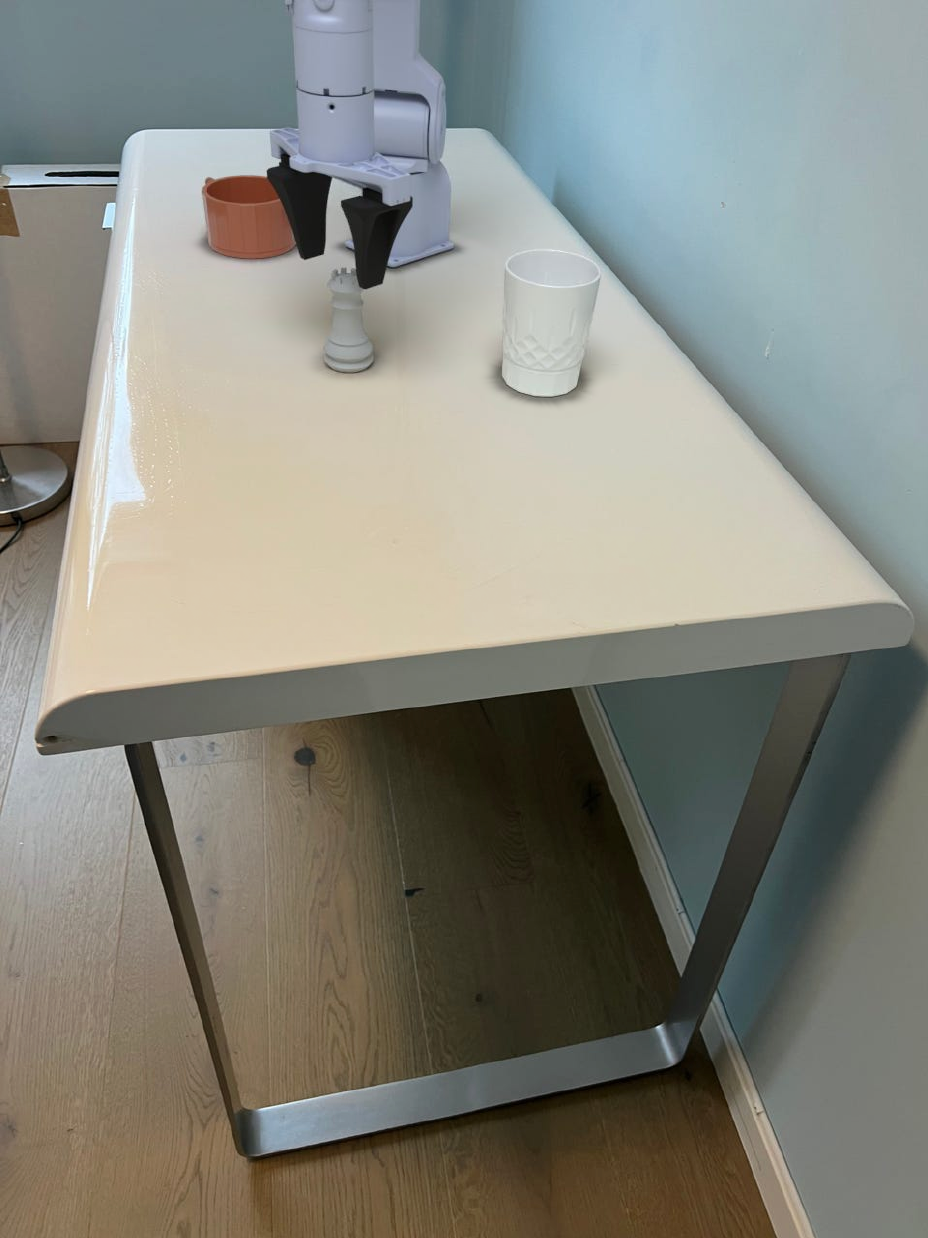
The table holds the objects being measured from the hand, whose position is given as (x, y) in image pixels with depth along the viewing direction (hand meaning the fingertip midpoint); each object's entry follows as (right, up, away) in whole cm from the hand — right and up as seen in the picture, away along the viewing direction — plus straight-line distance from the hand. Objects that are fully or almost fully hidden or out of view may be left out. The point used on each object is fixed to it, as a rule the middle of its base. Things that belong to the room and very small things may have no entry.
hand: (340, 270), depth 78 cm
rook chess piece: (0, -6, +6) cm, 8 cm away
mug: (-14, +13, +25) cm, 32 cm away
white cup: (+17, -8, +5) cm, 19 cm away
